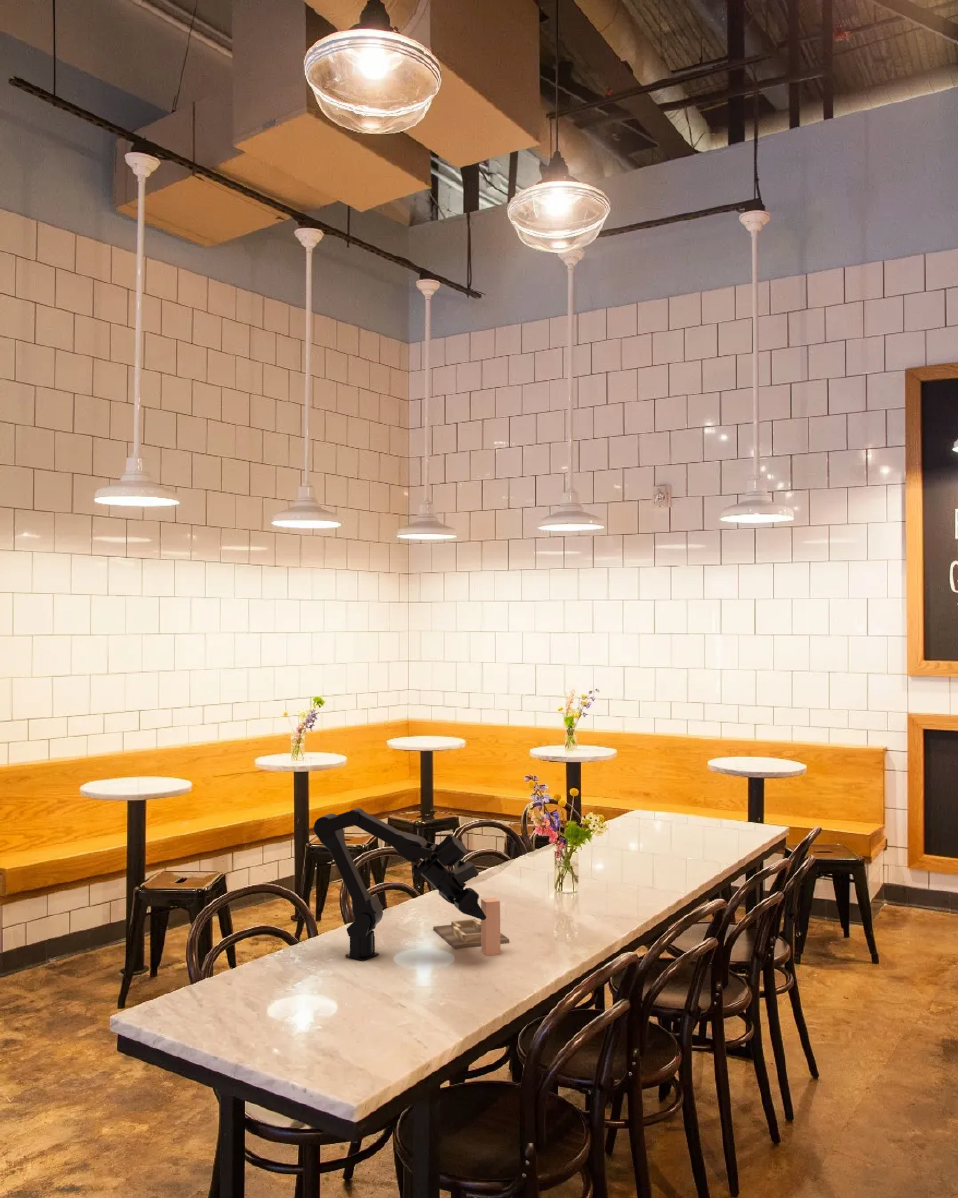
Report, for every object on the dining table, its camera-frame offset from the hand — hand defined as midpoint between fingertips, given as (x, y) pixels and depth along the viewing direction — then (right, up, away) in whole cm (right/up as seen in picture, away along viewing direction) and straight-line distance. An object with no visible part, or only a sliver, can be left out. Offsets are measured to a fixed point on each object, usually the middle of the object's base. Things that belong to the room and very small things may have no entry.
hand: (479, 914), depth 269 cm
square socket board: (-3, -11, +17) cm, 20 cm away
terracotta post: (+3, -10, +1) cm, 11 cm away
